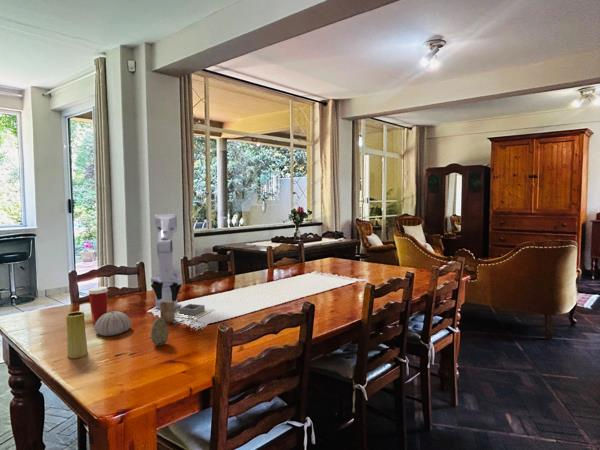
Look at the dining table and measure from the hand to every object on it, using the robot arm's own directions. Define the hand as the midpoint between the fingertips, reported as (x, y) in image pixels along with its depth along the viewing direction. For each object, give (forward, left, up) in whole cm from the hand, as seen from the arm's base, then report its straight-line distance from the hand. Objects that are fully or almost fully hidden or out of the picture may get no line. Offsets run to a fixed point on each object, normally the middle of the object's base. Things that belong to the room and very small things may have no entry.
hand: (167, 300), depth 173 cm
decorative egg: (+15, -24, -9) cm, 30 cm away
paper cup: (-28, -9, -9) cm, 31 cm away
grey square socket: (+4, +12, -10) cm, 16 cm away
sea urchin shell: (-12, -18, -9) cm, 23 cm away
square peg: (0, 0, -9) cm, 9 cm away
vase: (-6, -40, -9) cm, 41 cm away
